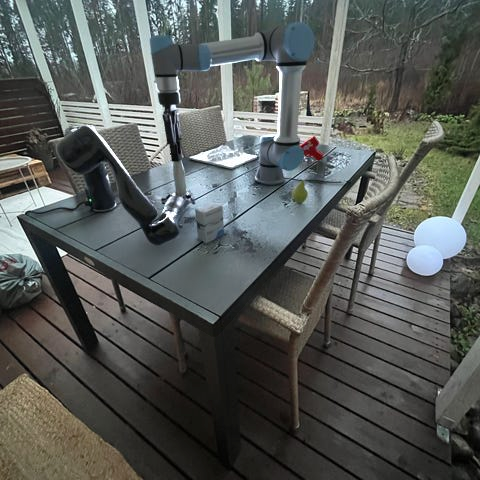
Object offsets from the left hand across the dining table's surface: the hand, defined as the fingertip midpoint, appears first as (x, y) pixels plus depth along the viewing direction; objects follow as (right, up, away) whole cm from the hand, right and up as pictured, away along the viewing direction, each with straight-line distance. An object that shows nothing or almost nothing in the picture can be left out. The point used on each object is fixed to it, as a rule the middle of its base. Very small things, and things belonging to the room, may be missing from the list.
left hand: (182, 191), depth 116 cm
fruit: (+51, -4, +5) cm, 52 cm away
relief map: (+14, +33, +63) cm, 72 cm away
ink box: (+14, -20, -19) cm, 31 cm away
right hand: (0, +11, -10) cm, 15 cm away
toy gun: (+67, +31, +59) cm, 94 cm away
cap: (0, +13, -11) cm, 17 cm away
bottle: (0, -7, +1) cm, 7 cm away
